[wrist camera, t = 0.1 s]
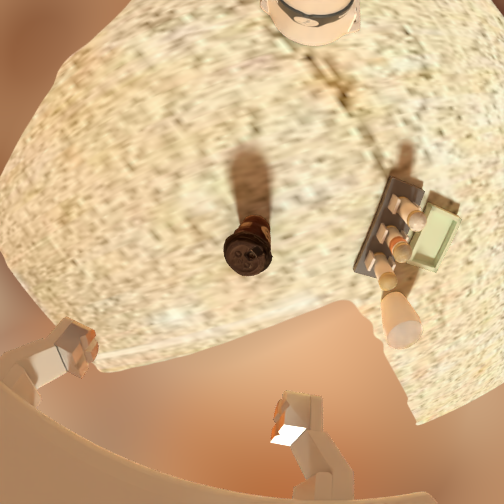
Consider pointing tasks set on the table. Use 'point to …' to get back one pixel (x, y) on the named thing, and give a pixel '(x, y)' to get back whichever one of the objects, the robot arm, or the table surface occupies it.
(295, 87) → the table surface
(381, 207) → the fuse block
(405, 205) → the fuse
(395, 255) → the fuse marked
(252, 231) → the coffee cup
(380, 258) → the fuse
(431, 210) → the tray
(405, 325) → the cup
